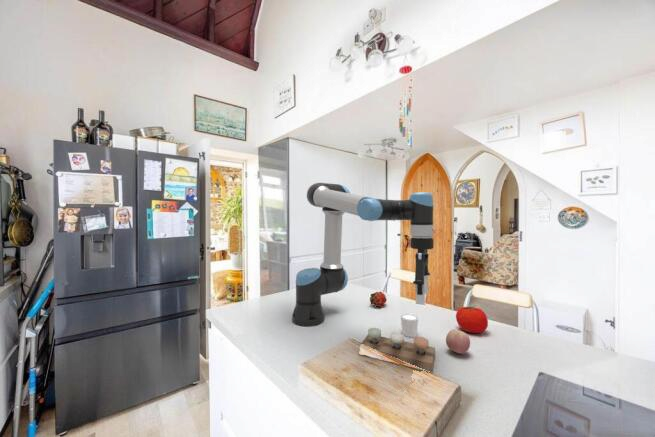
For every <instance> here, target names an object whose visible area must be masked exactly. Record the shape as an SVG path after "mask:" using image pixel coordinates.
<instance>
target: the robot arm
mask: <svg viewBox="0 0 655 437" xmlns="http://www.w3.org/2000/svg"><path fill="white" fill-rule="evenodd" d="M306 199H307V202H308V203H309V204H310V205H311V206H313V207H318V208H322V209H321V210H322V212H323V214H324V238H323V239H324V240H323V262H322V263H320V266H319V267H320V268H318V267H309V268H304V269H302V270H299V271H298V272H297V273H296V275H295V306H294V309H293V312H292V314H291V315H292V316H291V317H292V318H291V319H292V321H291V322H292V323H293V324H294V325H297V326H301V327H311V326H318V325H320V324H322V323H324V322H325V320H326V319H325V312H324V310H323V306H322V298H321V297H322V296H324V295H329V294H332V293H338V292H341V291H343V290H344V289H345V288H346V287H347V285H348V282H349V281H348V280H349V277H348V275H349V274H348V273H347V270H346V269H345V268H344V265H343V263H341V260H342V259H341V257H342V234H343V216H344V214H346V213H347V214H350V215H354V216H358V217H359V218H360V219H361V220H363V221H368V222H373V221H375V222H376V221H394V222H395V221H410V222H409V223H410V224H409V226H410V228H409V229H410V231H409V232H410V234H409V235H410V237H411V238H410V248H411V249H413V250H417V252H416V253H415V255H414V256H415V269H414V270H415V272H414V273H415V275H414V280H413V281H412V284H413V285H415V305H421V306H425V305H426V303H425V301H426V299H425V298H426V297H425V296H426V295H428V294H429V276H431V272H429V253H428V250H432V249H434V242H435V240H434V238H433V237H434V231H436V227H434V196H433V194H432V193H431V192H424V191H422V192H420V191H419V192H413V193H411V194H410V196H409V199H397V200H396V199H381V198H373V197H370V196H369V197H368V196H363V195H358V194H353V193H351V192H350V190H349V188H348V187H347V186H345V185H343V184H339V183H328V182H316V183H313V184H312V185H310V186H309V187H308V189H307V191H306Z"/></svg>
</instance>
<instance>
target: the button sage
mask: <svg viewBox="0 0 655 437" xmlns="http://www.w3.org/2000/svg"><path fill="white" fill-rule="evenodd" d="M367 335H368V336H369V337H371V338H372V343H373V344H377V338H380V337H382V330H381V329H380V328H377V327H369V328H368V330H367Z"/></svg>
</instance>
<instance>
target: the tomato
mask: <svg viewBox="0 0 655 437" xmlns="http://www.w3.org/2000/svg"><path fill="white" fill-rule="evenodd" d="M455 320H456V322H457V324H458V326H459V328H460V329H462V330H464V331H466V332H468V333H472V334H478V333H479V334H481V333H483V332H485V331H487V328H488V327H489V322H488V321H489V320H488V317H487V314H486V313H485V312H484V311H483V309H481V308H479V307H476V305H474V306H461V307H460V308H458V309H457V311H456V315H455Z"/></svg>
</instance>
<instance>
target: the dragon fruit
mask: <svg viewBox="0 0 655 437" xmlns="http://www.w3.org/2000/svg"><path fill="white" fill-rule="evenodd" d="M369 302H370V304H371V305H373V306H374V307H376V308H378V307H380V308H381V307H382V308H384V305H385V304H386V303H387V302H388V300H387V296H386V294H385V293H383V292H382V291H376V292H373V293H371V294H370V297H369Z"/></svg>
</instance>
